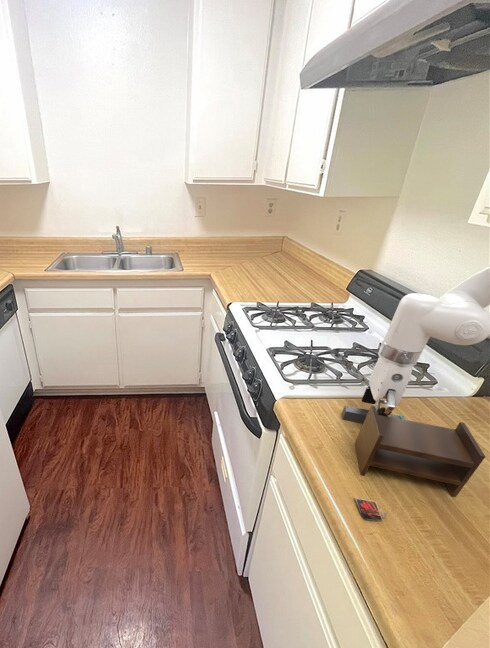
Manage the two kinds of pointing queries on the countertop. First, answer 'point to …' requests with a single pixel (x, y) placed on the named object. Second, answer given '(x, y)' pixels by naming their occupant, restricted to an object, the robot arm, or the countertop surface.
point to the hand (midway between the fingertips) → (371, 413)
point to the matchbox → (370, 509)
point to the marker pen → (360, 414)
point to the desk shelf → (418, 449)
